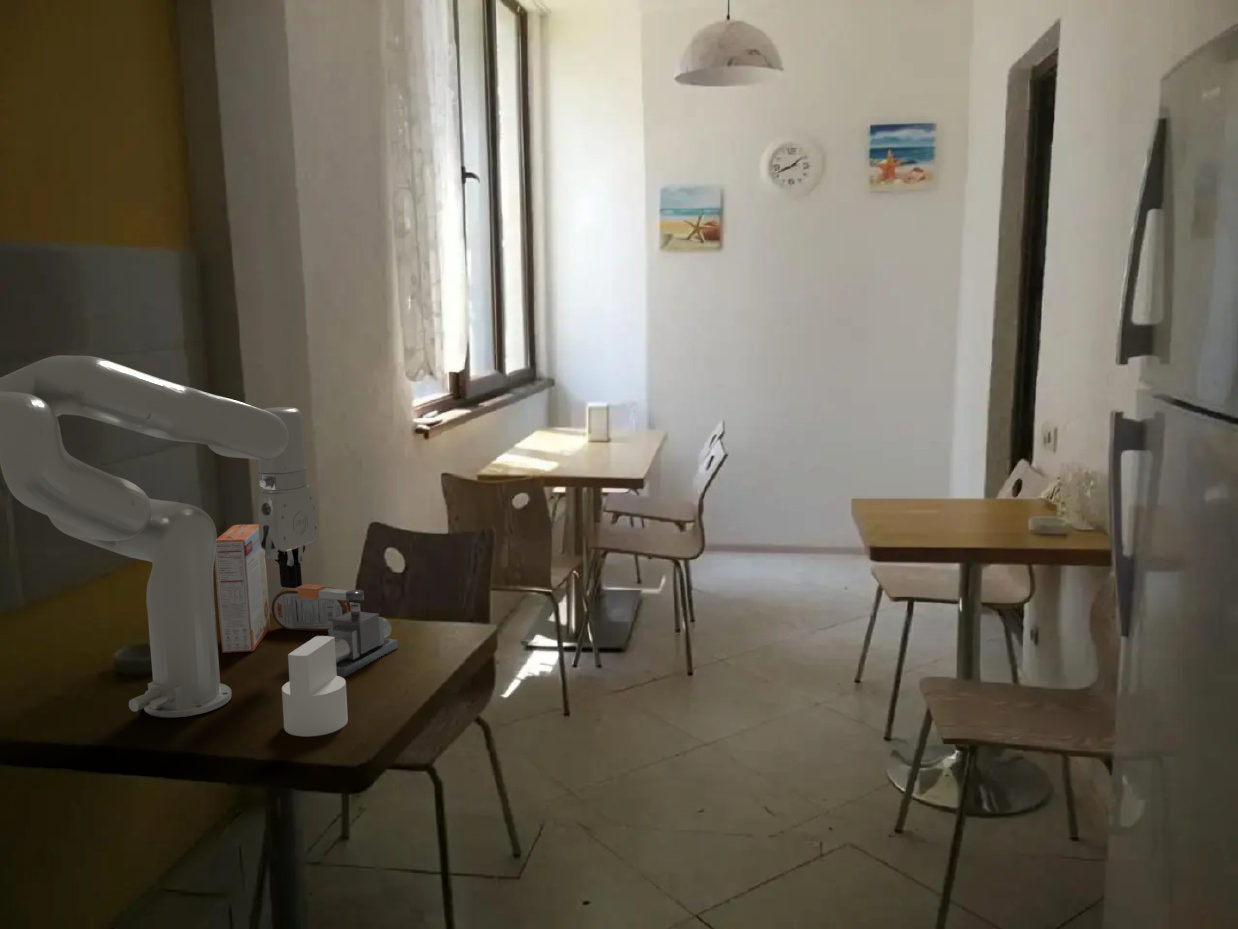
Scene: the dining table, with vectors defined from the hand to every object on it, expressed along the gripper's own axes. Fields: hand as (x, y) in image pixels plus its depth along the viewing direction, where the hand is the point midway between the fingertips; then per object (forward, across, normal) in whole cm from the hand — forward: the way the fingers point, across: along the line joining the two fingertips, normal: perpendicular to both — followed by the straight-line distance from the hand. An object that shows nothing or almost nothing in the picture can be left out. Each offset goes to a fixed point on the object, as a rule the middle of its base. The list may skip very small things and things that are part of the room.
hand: (291, 586), depth 173 cm
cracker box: (+14, +7, +17) cm, 23 cm away
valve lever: (+3, +5, -4) cm, 8 cm away
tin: (+14, +17, +10) cm, 25 cm away
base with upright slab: (+14, -21, -20) cm, 32 cm away
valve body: (+14, +5, -9) cm, 17 cm away
